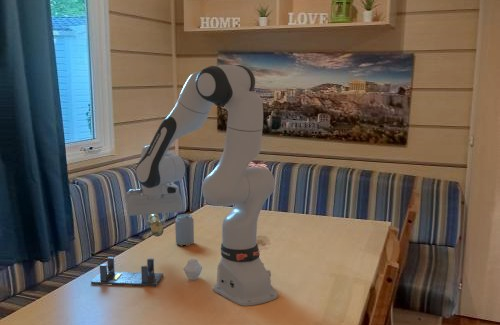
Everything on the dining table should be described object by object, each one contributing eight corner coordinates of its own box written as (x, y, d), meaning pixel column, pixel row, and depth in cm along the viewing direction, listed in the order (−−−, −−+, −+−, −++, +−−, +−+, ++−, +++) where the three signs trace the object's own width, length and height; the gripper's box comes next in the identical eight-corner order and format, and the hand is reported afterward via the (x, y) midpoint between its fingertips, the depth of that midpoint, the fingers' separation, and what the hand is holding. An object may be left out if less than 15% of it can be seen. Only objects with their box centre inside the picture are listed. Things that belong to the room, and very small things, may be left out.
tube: (163, 236, 175) (163, 224, 174) (152, 237, 174) (151, 225, 173) (159, 222, 192) (158, 212, 192) (148, 223, 191) (148, 213, 191)
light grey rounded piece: (185, 282, 166) (185, 262, 165) (182, 275, 172) (182, 256, 171) (203, 280, 168) (203, 261, 167) (200, 273, 174) (200, 254, 173)
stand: (163, 276, 172) (162, 258, 171) (156, 286, 163) (155, 268, 162) (101, 274, 174) (100, 256, 173) (91, 284, 165) (90, 265, 164)
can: (192, 246, 202) (192, 218, 200) (174, 246, 202) (173, 218, 200) (195, 240, 209) (194, 213, 207) (177, 240, 209) (176, 213, 207)
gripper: (125, 191, 175) (126, 229, 177) (183, 188, 180) (184, 225, 182) (124, 188, 181) (126, 225, 183) (180, 185, 186) (182, 220, 188)
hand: (155, 225), depth 183 cm, fingers closed on tube, 4 cm apart
